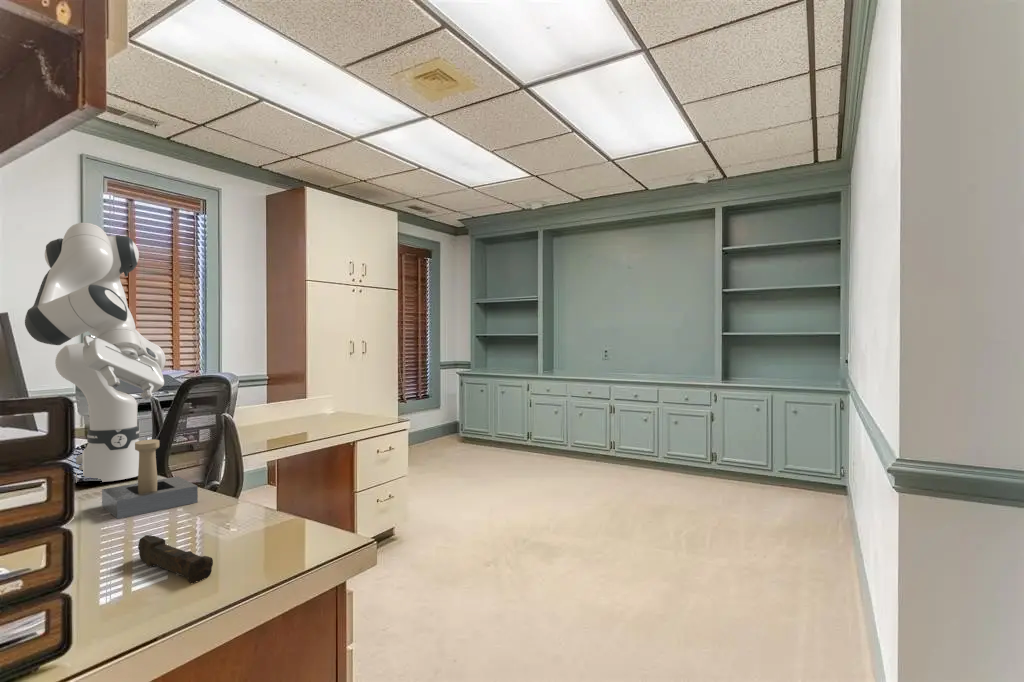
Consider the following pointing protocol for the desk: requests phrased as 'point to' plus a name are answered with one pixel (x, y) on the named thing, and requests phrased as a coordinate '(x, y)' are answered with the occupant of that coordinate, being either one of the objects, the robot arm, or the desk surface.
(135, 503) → the jig
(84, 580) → the desk surface
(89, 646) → the desk surface
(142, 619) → the desk surface
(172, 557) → the hand tool
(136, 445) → the handle
